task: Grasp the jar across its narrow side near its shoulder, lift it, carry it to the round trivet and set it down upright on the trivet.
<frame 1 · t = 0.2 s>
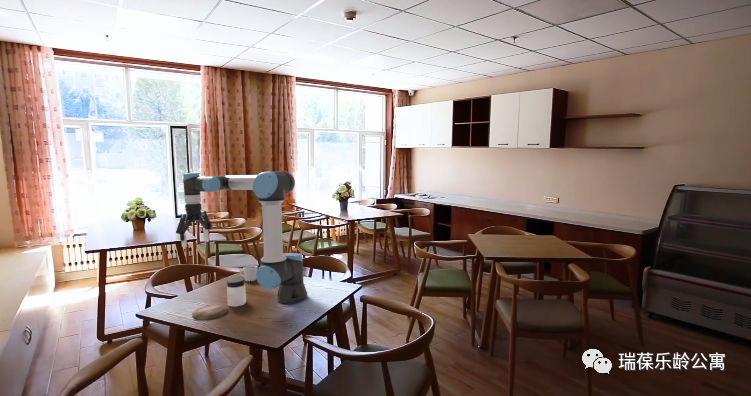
hand: (195, 244, 199), 28 cm above the table, fingers open, 13 cm apart
cup: (248, 280, 227), on the table
jar: (237, 304, 190), on the table
trivet: (210, 313, 179), on the table
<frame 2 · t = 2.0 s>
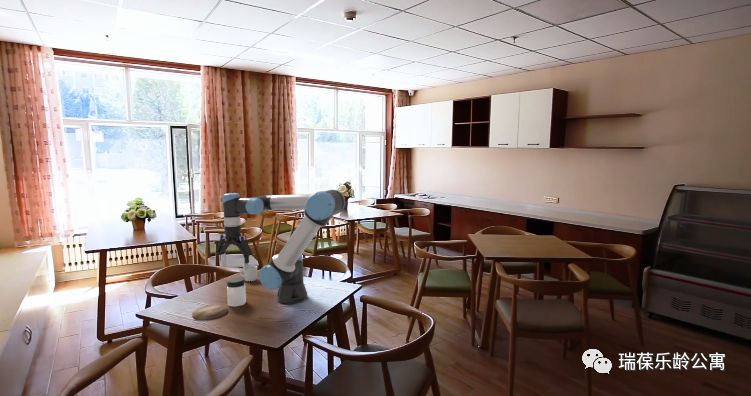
hand: (234, 268, 189), 18 cm above the table, fingers open, 13 cm apart
nothing on the table moved.
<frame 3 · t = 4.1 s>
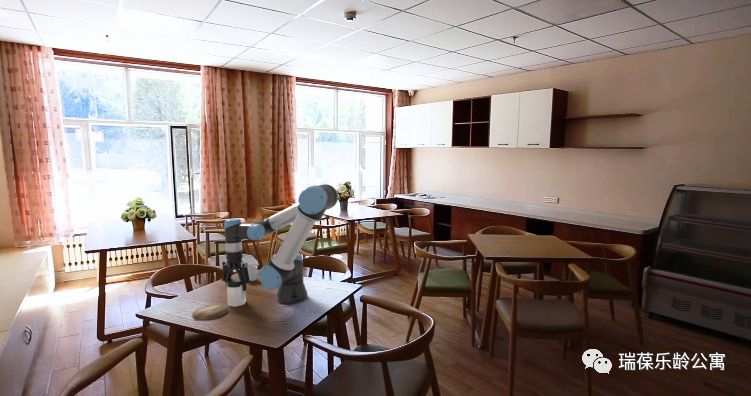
hand: (236, 296, 190), 4 cm above the table, fingers closed on jar, 8 cm apart
jar: (237, 303, 190), on the table, touching gripper
everything else where it was.
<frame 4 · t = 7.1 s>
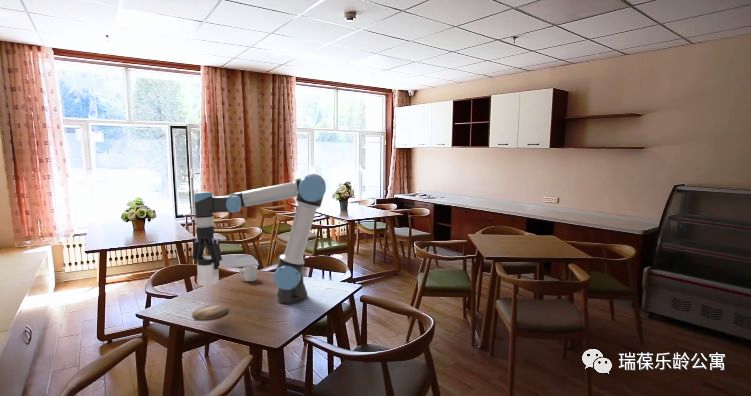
hand: (208, 275, 177), 18 cm above the table, fingers closed on jar, 8 cm apart
jar: (208, 283, 177), point 14 cm above the table, touching gripper
everything else where it was.
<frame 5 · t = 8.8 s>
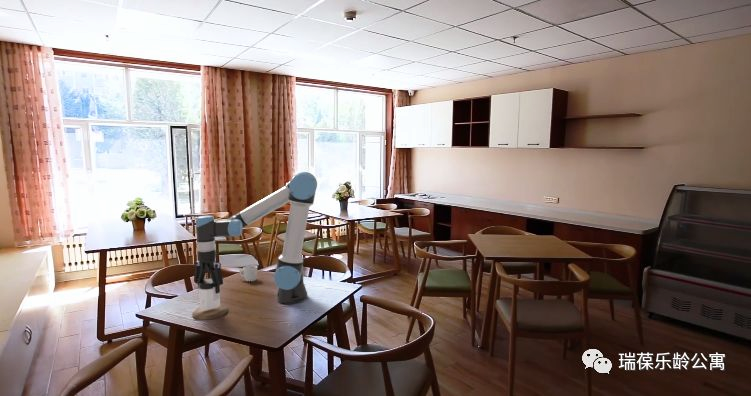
hand: (209, 298, 178), 7 cm above the table, fingers closed on jar, 8 cm apart
jar: (210, 306, 178), point 3 cm above the table, touching gripper
everything else where it was.
when the fingers open (5 cm above the table, at t = 10.1 s): jar stays where it is, resting on trivet.
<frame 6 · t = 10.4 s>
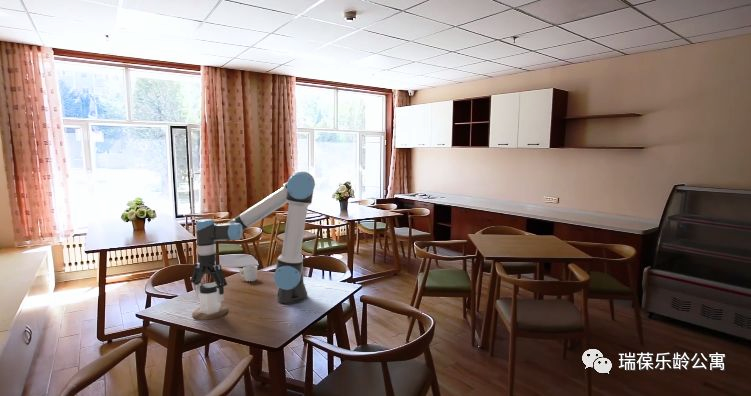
hand: (209, 299, 178), 7 cm above the table, fingers open, 12 cm apart
jar: (210, 311, 179), point 1 cm above the table, touching trivet
everything else where it was.
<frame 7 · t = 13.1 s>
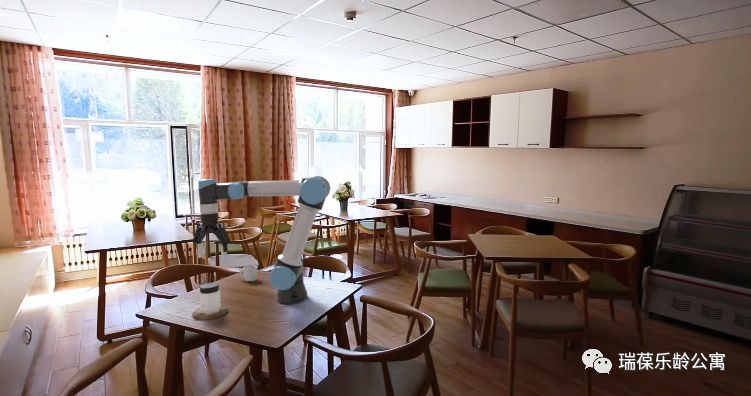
hand: (212, 258, 180), 25 cm above the table, fingers open, 13 cm apart
nothing on the table moved.
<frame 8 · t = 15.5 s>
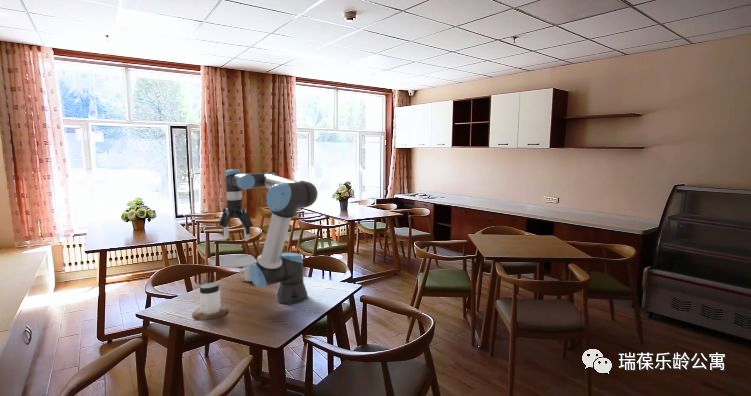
hand: (236, 239, 203), 29 cm above the table, fingers open, 13 cm apart
nothing on the table moved.
at the end: jar 0.2 cm from the trivet (horizontally); jar tilted 0°; the gripper is holding nothing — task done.
